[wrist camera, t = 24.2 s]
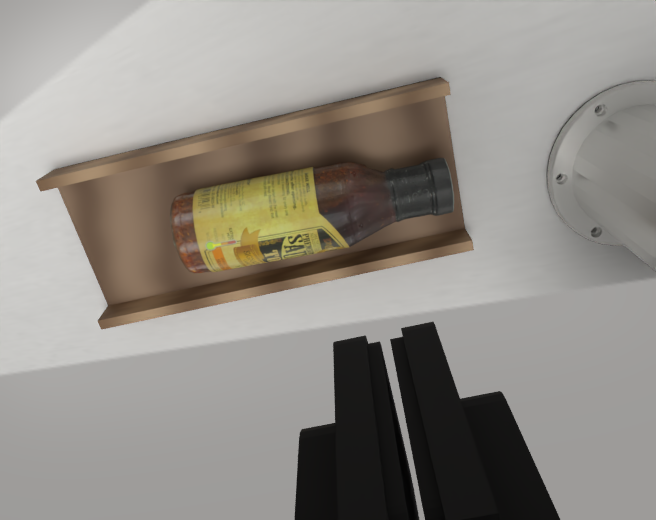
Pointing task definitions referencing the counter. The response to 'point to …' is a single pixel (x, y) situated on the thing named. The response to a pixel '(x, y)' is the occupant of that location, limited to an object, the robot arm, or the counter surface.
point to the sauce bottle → (301, 212)
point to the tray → (246, 163)
